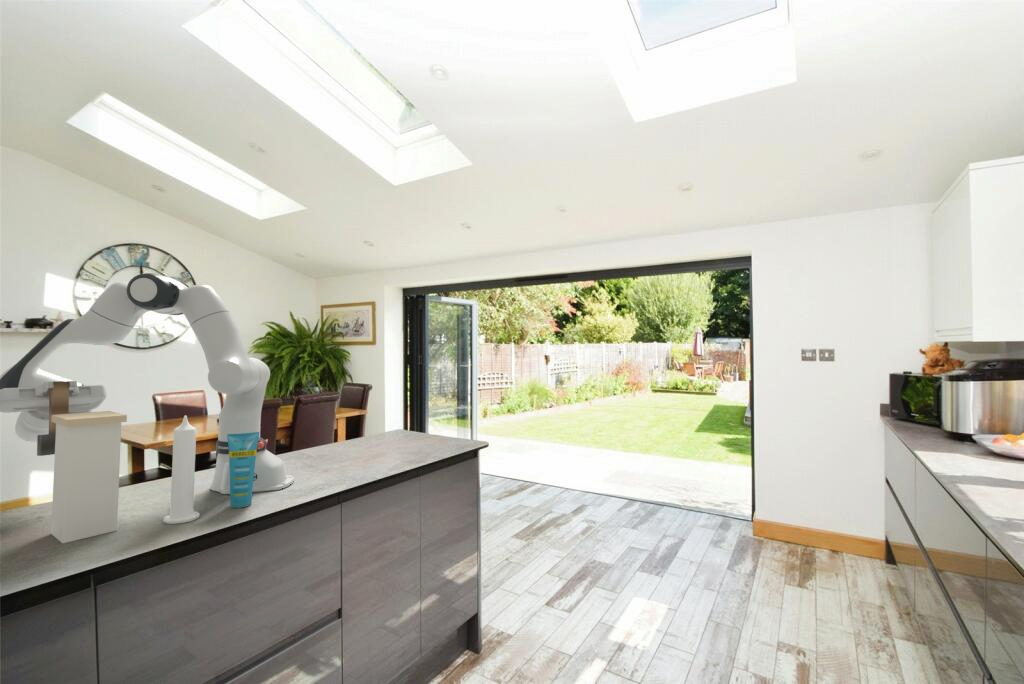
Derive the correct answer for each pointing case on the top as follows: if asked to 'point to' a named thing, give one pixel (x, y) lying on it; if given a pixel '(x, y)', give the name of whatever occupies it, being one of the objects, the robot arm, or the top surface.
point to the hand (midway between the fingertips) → (61, 383)
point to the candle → (183, 475)
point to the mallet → (56, 406)
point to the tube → (242, 467)
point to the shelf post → (86, 474)
